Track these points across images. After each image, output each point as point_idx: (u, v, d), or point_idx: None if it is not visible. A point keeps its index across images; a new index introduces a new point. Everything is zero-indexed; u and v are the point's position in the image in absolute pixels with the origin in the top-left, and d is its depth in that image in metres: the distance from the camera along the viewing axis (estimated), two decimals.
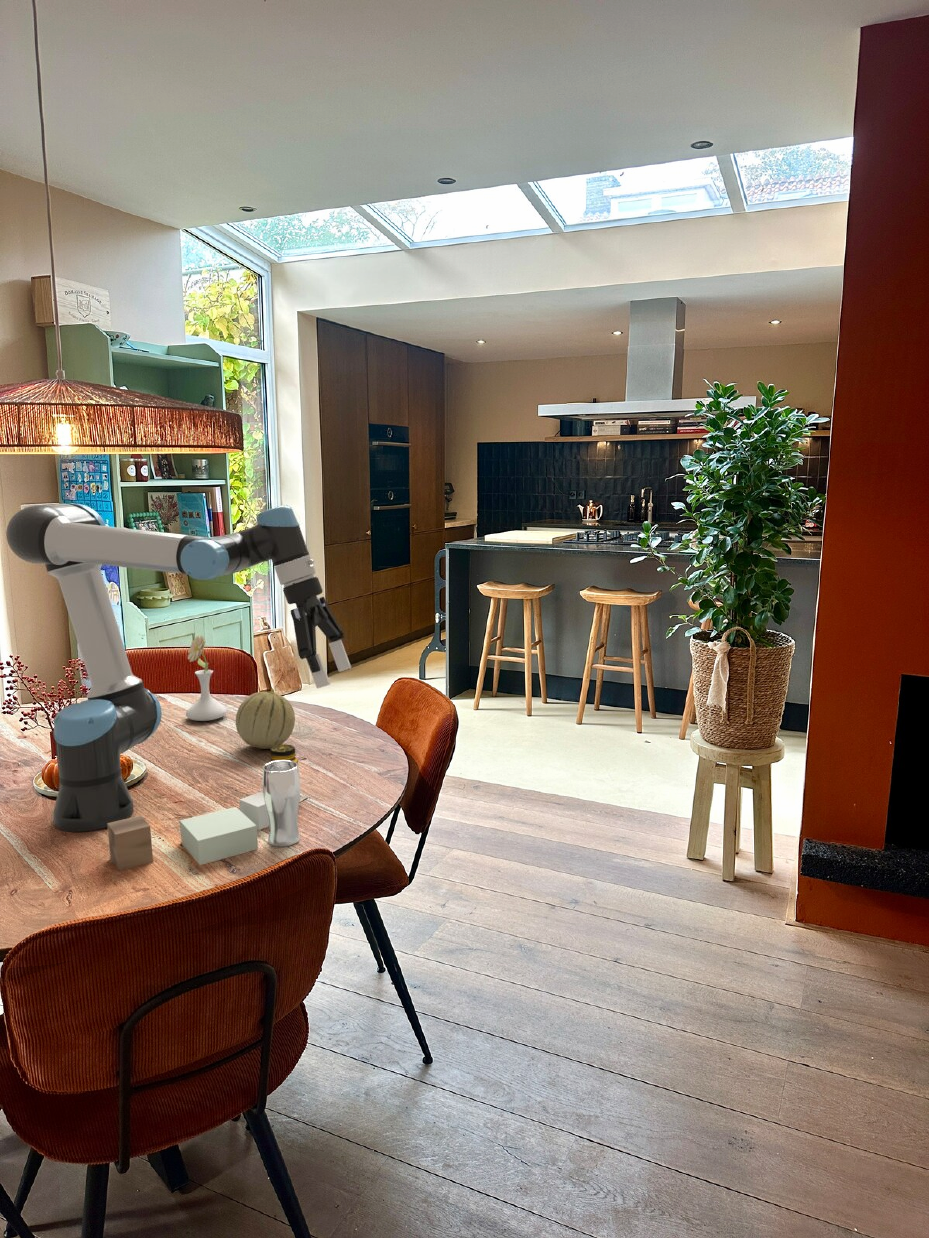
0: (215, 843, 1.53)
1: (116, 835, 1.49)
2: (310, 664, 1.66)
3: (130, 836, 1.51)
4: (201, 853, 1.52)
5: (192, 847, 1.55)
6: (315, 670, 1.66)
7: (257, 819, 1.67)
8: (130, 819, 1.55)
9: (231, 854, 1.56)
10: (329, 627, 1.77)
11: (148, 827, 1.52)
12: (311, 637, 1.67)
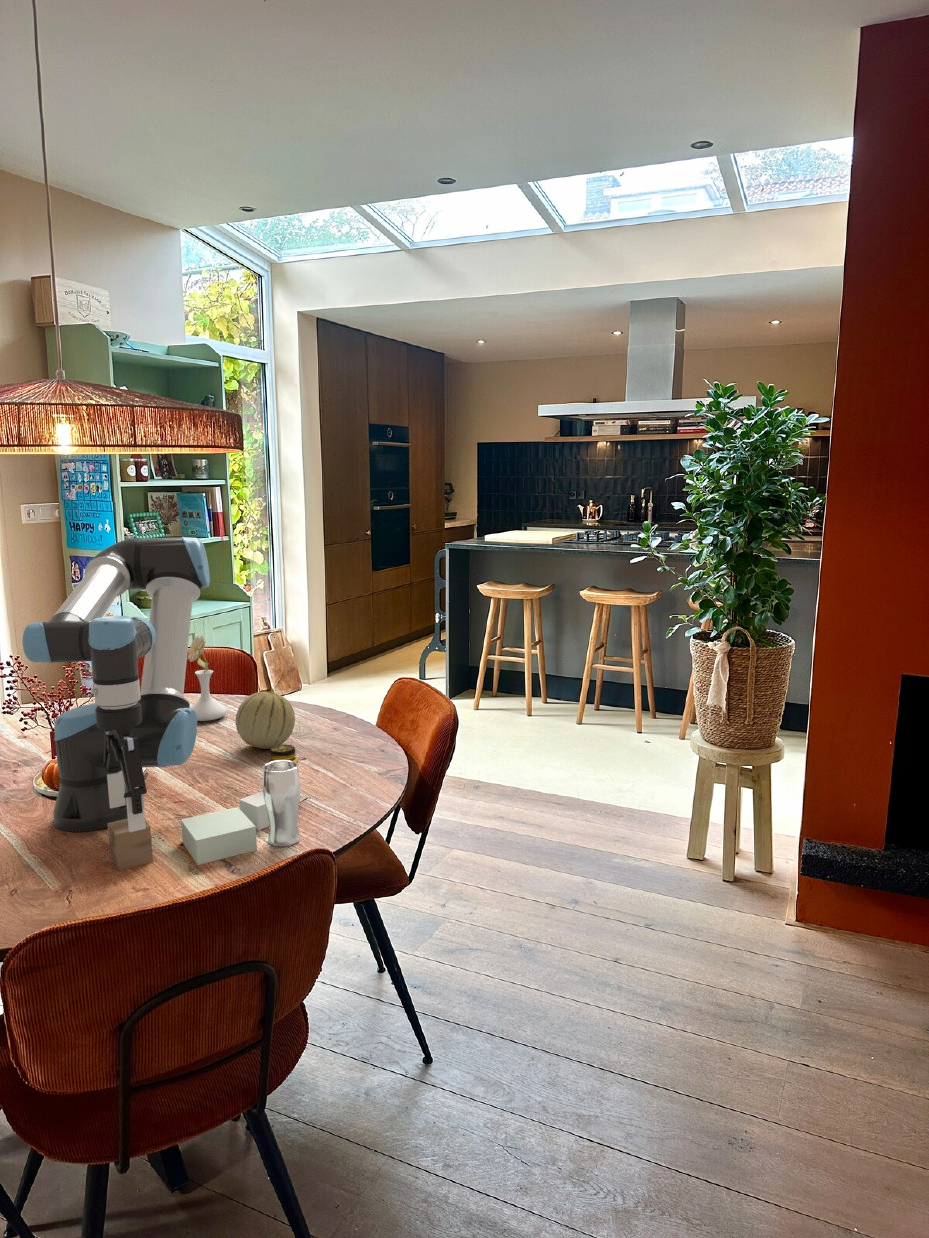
0: (213, 843, 1.53)
1: (116, 835, 1.49)
2: None
3: (130, 836, 1.51)
4: (198, 853, 1.52)
5: (191, 846, 1.55)
6: None
7: (257, 819, 1.67)
8: None
9: (229, 854, 1.55)
10: None
11: (148, 827, 1.52)
12: None
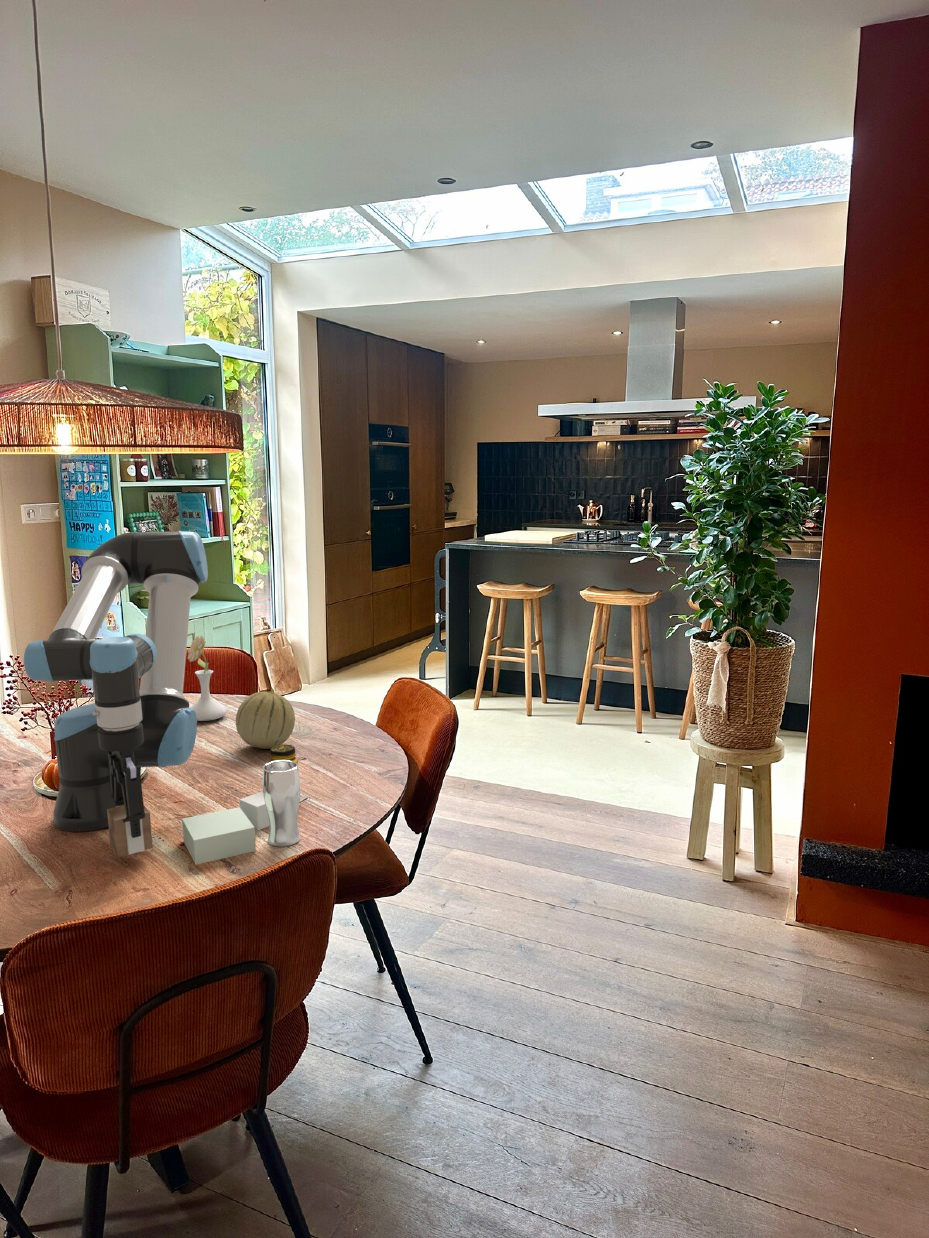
0: (211, 843, 1.53)
1: (116, 821, 1.49)
2: None
3: None
4: (196, 853, 1.52)
5: (190, 846, 1.55)
6: None
7: (257, 819, 1.67)
8: None
9: (228, 855, 1.55)
10: None
11: (148, 813, 1.52)
12: None
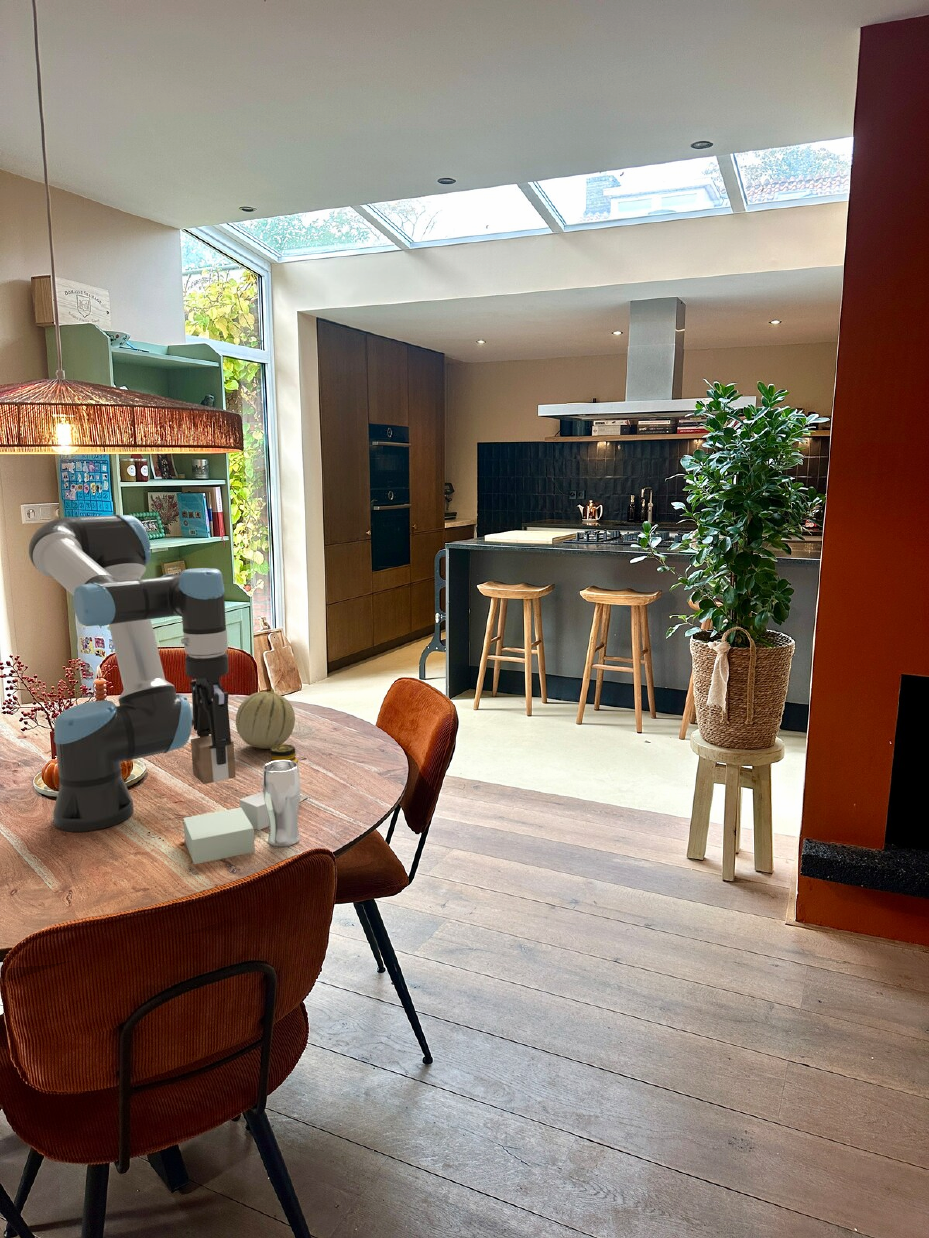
0: (210, 843, 1.53)
1: (202, 748, 1.52)
2: None
3: None
4: (195, 852, 1.52)
5: (190, 846, 1.56)
6: None
7: (256, 819, 1.67)
8: None
9: (227, 855, 1.55)
10: None
11: (231, 742, 1.55)
12: None
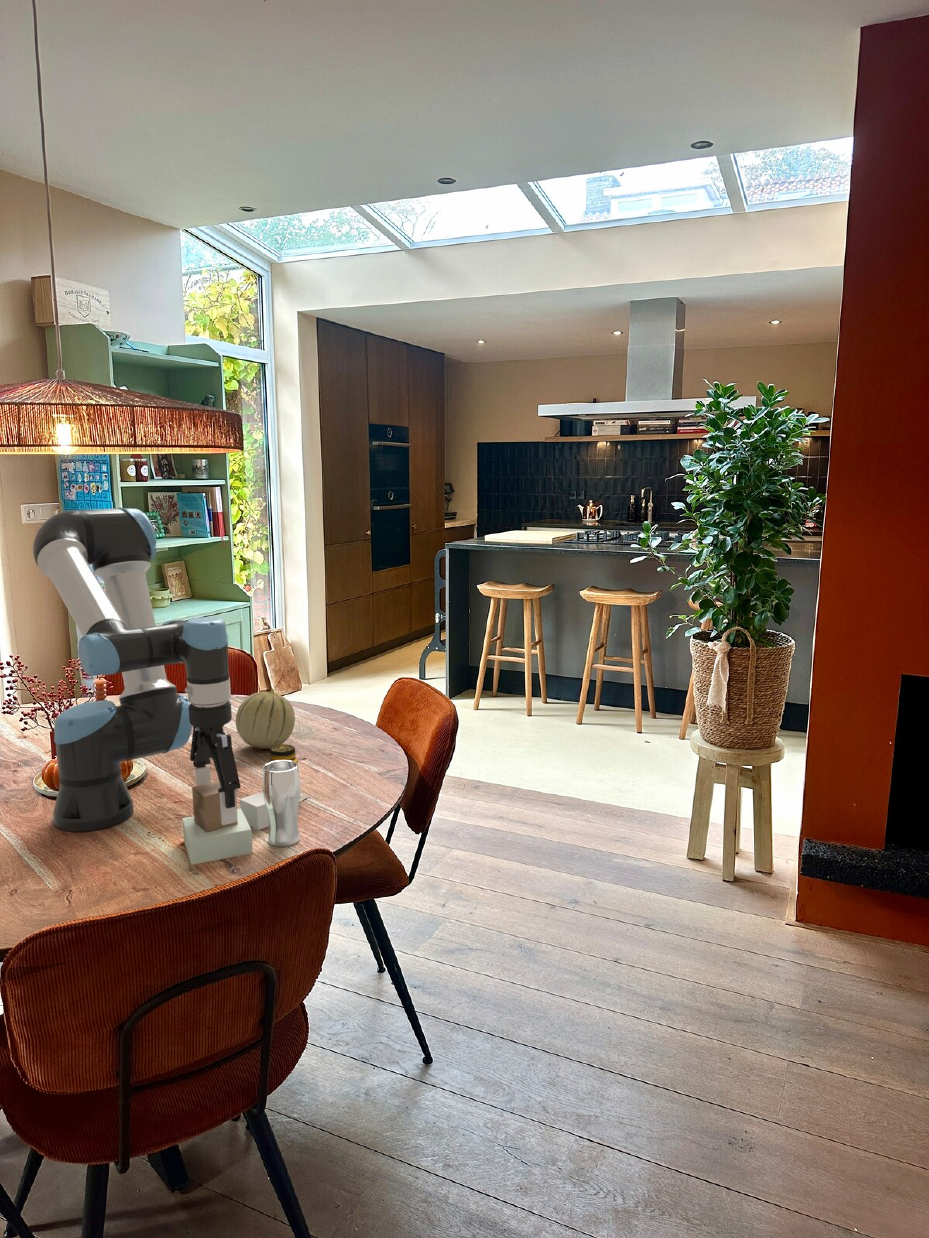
0: (207, 844, 1.53)
1: (205, 797, 1.54)
2: None
3: (218, 798, 1.55)
4: (192, 853, 1.52)
5: (187, 846, 1.56)
6: None
7: (256, 819, 1.67)
8: (213, 783, 1.60)
9: (224, 856, 1.55)
10: None
11: None
12: None
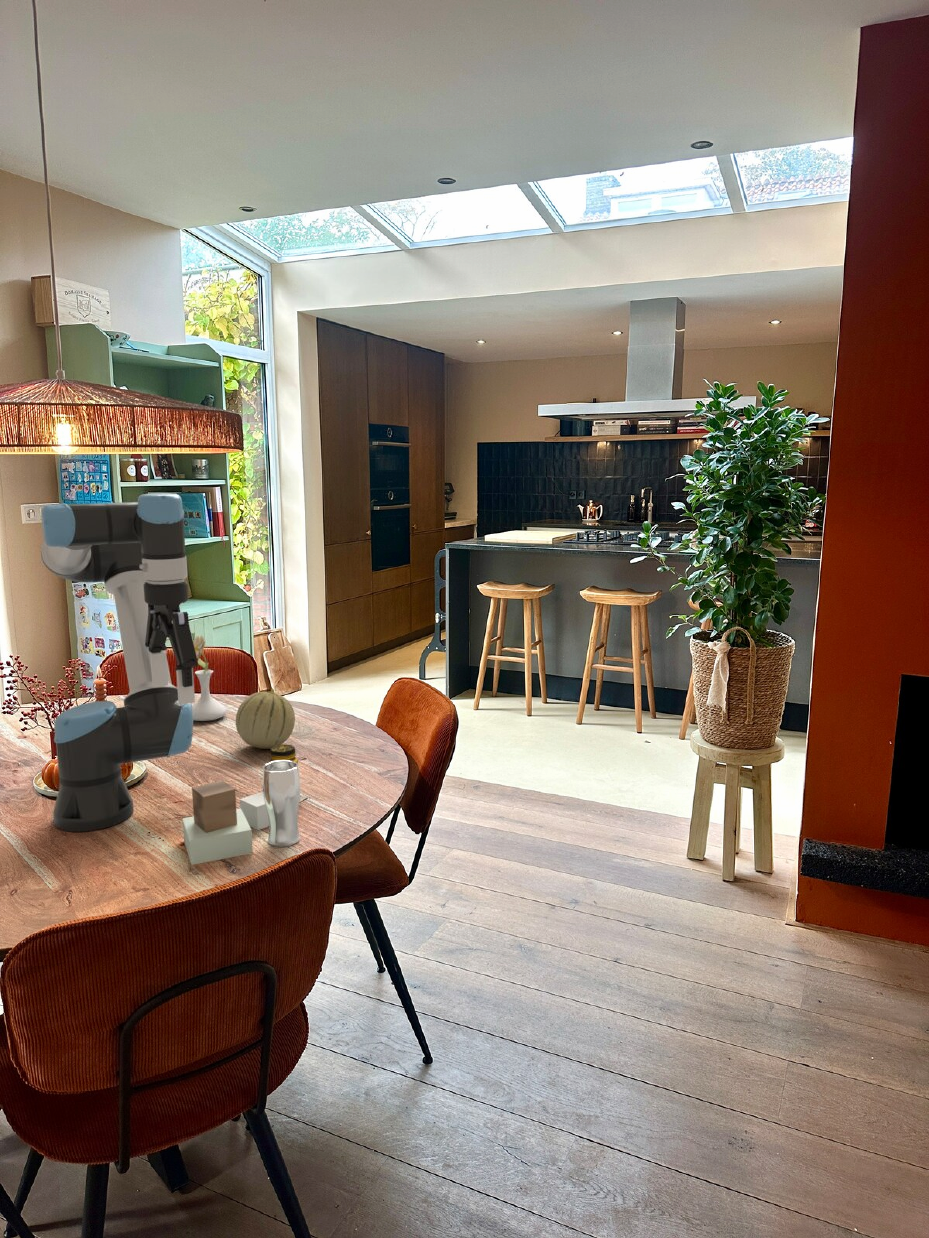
0: (207, 844, 1.53)
1: (204, 797, 1.54)
2: None
3: (217, 799, 1.55)
4: (192, 853, 1.52)
5: None
6: None
7: (256, 819, 1.67)
8: (213, 783, 1.60)
9: (224, 856, 1.55)
10: None
11: (233, 790, 1.57)
12: None
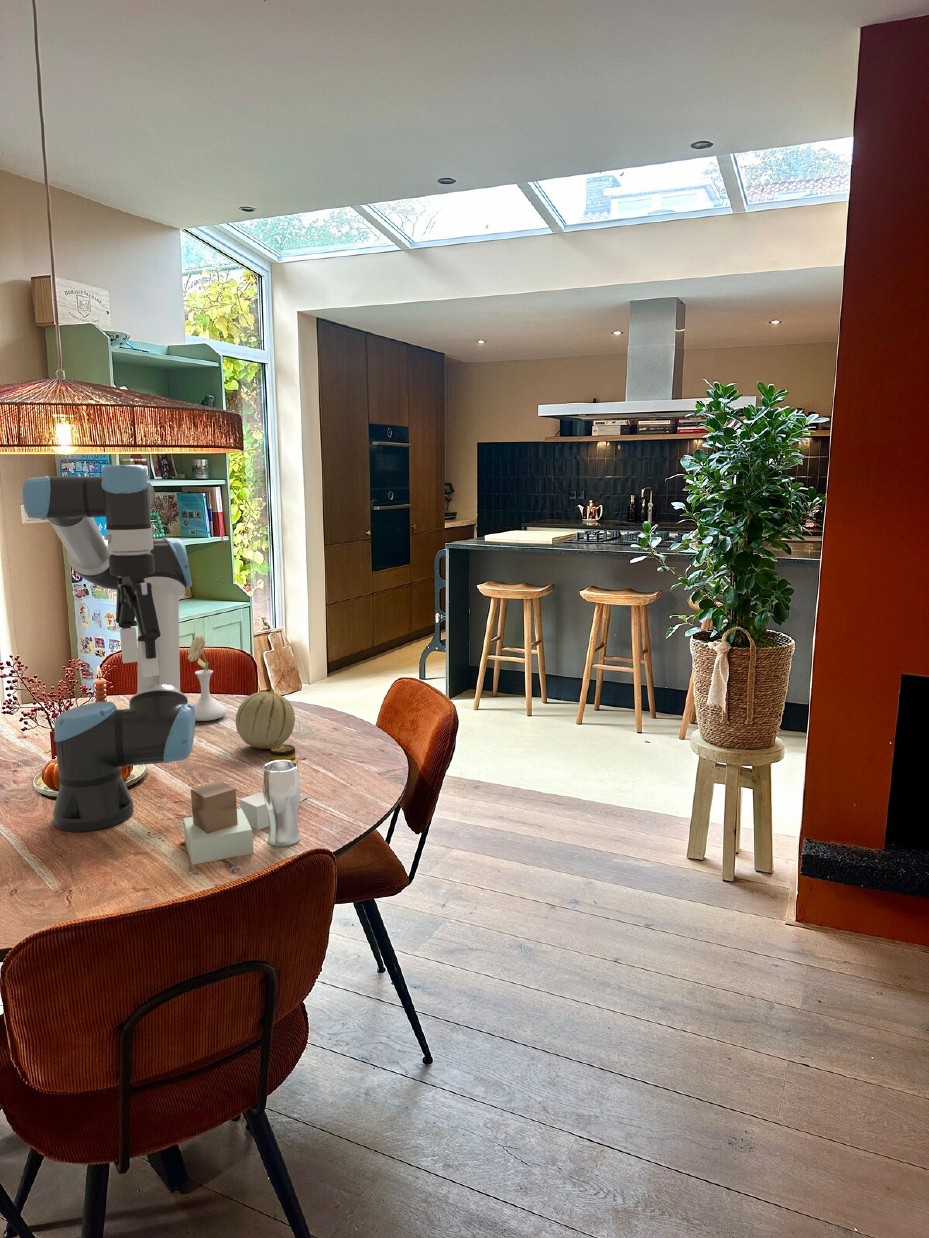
0: (208, 844, 1.53)
1: (206, 798, 1.53)
2: None
3: (218, 799, 1.55)
4: (193, 853, 1.52)
5: (188, 846, 1.56)
6: None
7: (256, 819, 1.67)
8: (212, 784, 1.59)
9: (225, 856, 1.55)
10: None
11: (233, 790, 1.57)
12: None
